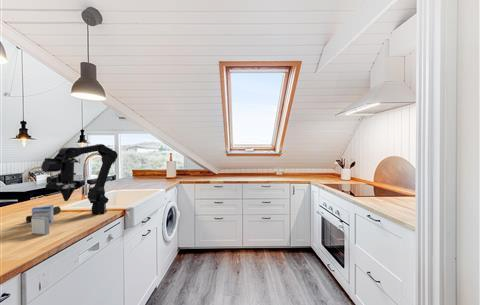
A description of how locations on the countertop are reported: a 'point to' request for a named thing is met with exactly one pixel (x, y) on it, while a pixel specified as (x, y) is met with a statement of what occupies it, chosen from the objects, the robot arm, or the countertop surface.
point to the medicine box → (43, 212)
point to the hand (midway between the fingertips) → (66, 201)
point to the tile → (40, 225)
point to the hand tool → (55, 211)
